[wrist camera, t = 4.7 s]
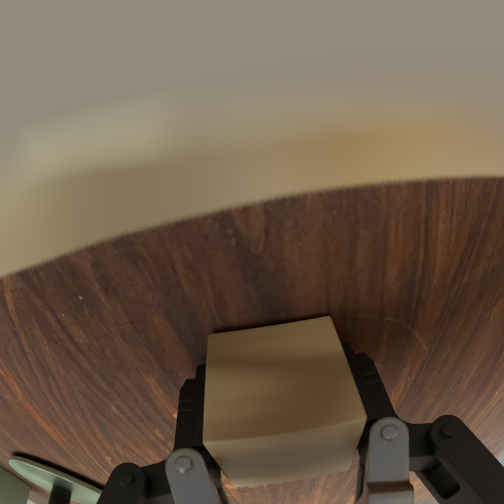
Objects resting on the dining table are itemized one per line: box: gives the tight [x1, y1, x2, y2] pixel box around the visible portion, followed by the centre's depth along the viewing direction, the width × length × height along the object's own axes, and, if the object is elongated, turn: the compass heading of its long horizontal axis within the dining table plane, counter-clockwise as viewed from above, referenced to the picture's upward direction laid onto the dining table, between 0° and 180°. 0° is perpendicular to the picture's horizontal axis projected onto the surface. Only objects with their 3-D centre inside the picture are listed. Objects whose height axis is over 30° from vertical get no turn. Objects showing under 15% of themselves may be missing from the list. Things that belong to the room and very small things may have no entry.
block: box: [203, 316, 367, 487], centre depth 10 cm, size 4×4×4 cm
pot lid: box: [9, 456, 102, 504], centre depth 20 cm, size 14×14×6 cm
